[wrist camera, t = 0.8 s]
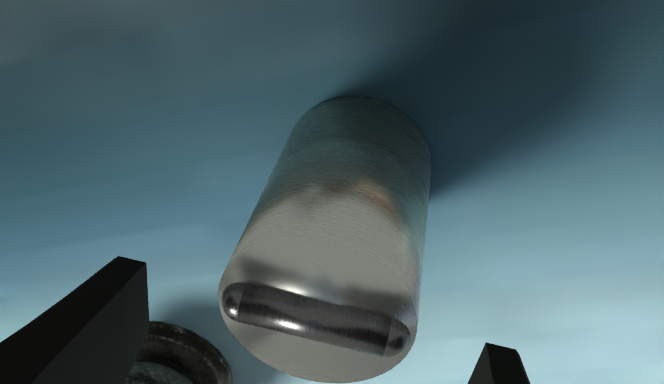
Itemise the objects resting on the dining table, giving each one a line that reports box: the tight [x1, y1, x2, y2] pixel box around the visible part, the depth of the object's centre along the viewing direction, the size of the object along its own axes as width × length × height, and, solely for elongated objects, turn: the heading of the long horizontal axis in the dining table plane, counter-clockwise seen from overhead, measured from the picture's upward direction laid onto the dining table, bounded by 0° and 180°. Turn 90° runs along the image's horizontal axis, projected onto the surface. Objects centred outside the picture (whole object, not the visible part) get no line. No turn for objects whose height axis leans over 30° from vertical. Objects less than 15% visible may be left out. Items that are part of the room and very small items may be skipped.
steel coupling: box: [218, 96, 432, 383], centre depth 16 cm, size 4×4×7 cm
